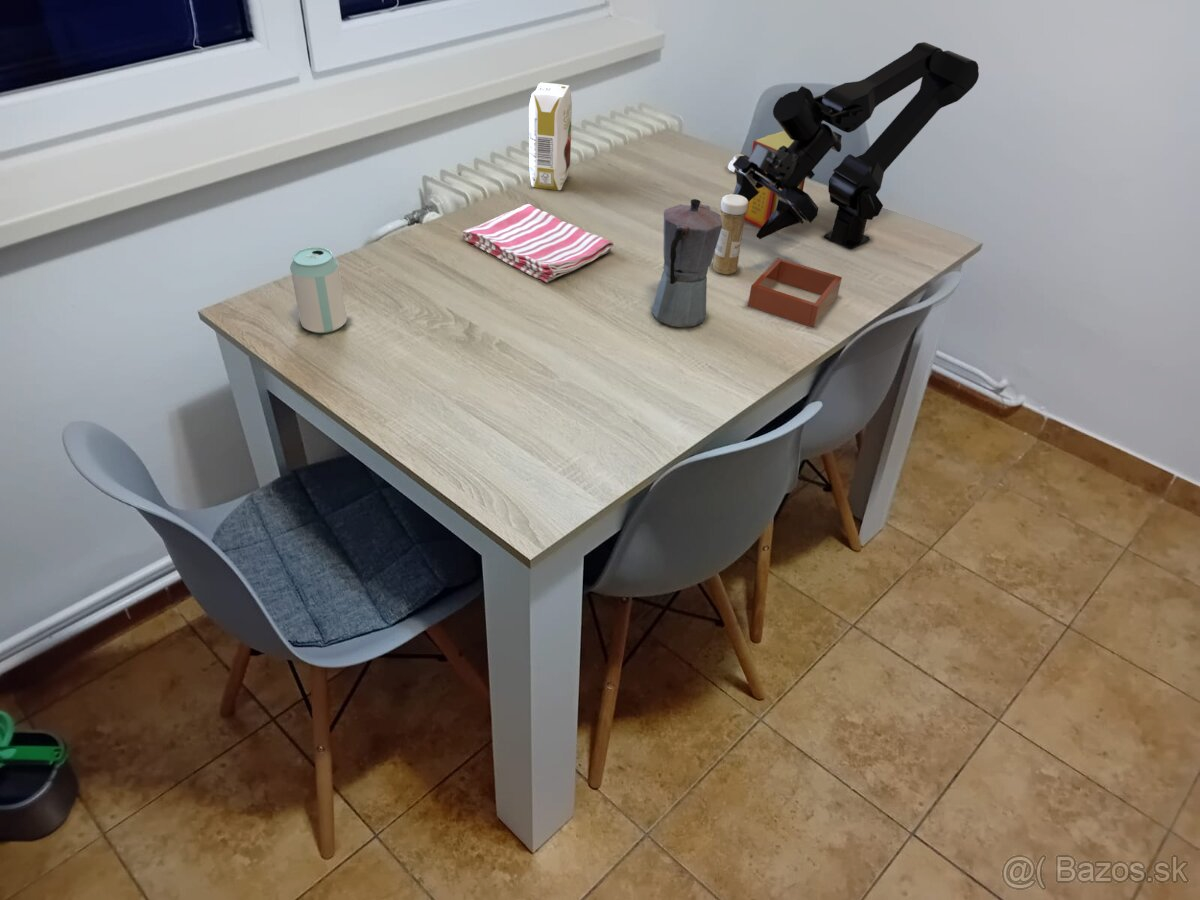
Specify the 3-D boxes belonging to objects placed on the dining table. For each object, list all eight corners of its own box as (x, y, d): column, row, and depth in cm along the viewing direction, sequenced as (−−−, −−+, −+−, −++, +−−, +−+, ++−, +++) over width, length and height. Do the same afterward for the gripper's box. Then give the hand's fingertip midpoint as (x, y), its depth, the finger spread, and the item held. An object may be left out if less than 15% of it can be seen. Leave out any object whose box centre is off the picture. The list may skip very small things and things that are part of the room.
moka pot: (718, 300, 155) (734, 189, 142) (695, 346, 144) (711, 230, 131) (664, 288, 157) (676, 178, 144) (637, 333, 146) (648, 218, 133)
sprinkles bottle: (739, 275, 162) (750, 205, 153) (713, 275, 162) (724, 204, 153) (735, 263, 165) (746, 193, 157) (710, 262, 165) (720, 192, 156)
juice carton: (527, 188, 185) (526, 94, 173) (536, 171, 192) (536, 79, 180) (563, 193, 185) (565, 98, 172) (571, 176, 191) (574, 83, 179)
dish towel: (550, 286, 156) (550, 268, 154) (459, 239, 167) (458, 222, 165) (615, 253, 166) (616, 236, 164) (526, 211, 177) (525, 194, 175)
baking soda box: (772, 206, 185) (786, 128, 174) (797, 217, 181) (813, 138, 171) (741, 218, 180) (753, 139, 169) (766, 231, 176) (781, 150, 166)
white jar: (749, 176, 195) (751, 167, 199) (751, 163, 193) (753, 154, 197) (726, 173, 196) (728, 164, 200) (728, 160, 194) (730, 151, 198)
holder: (774, 277, 162) (778, 257, 159) (837, 297, 158) (842, 277, 155) (747, 306, 154) (751, 285, 152) (813, 327, 150) (818, 306, 147)
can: (298, 316, 145) (284, 248, 137) (342, 308, 147) (331, 241, 140) (305, 339, 140) (292, 270, 133) (351, 331, 143) (340, 262, 135)
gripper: (749, 108, 157) (689, 180, 160) (818, 147, 145) (751, 224, 147) (778, 146, 165) (720, 213, 168) (845, 186, 153) (782, 258, 156)
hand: (742, 226), depth 159 cm, fingers open, 9 cm apart
